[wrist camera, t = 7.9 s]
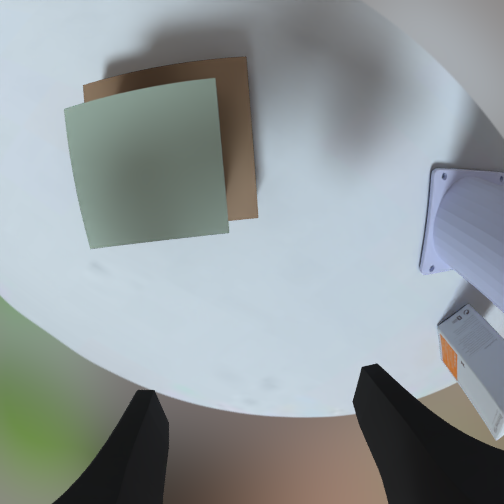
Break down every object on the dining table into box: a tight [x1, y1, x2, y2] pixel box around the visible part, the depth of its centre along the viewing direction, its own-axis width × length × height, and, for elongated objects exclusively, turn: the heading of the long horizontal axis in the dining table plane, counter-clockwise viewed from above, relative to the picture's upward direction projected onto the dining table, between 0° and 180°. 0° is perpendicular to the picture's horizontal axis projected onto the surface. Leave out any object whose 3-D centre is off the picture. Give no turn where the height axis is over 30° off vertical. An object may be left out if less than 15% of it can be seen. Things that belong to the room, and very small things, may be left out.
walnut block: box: [83, 57, 258, 221], centre depth 15 cm, size 8×8×3 cm
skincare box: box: [437, 304, 504, 440], centre depth 19 cm, size 6×4×12 cm
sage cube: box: [64, 78, 229, 249], centre depth 11 cm, size 5×5×5 cm
